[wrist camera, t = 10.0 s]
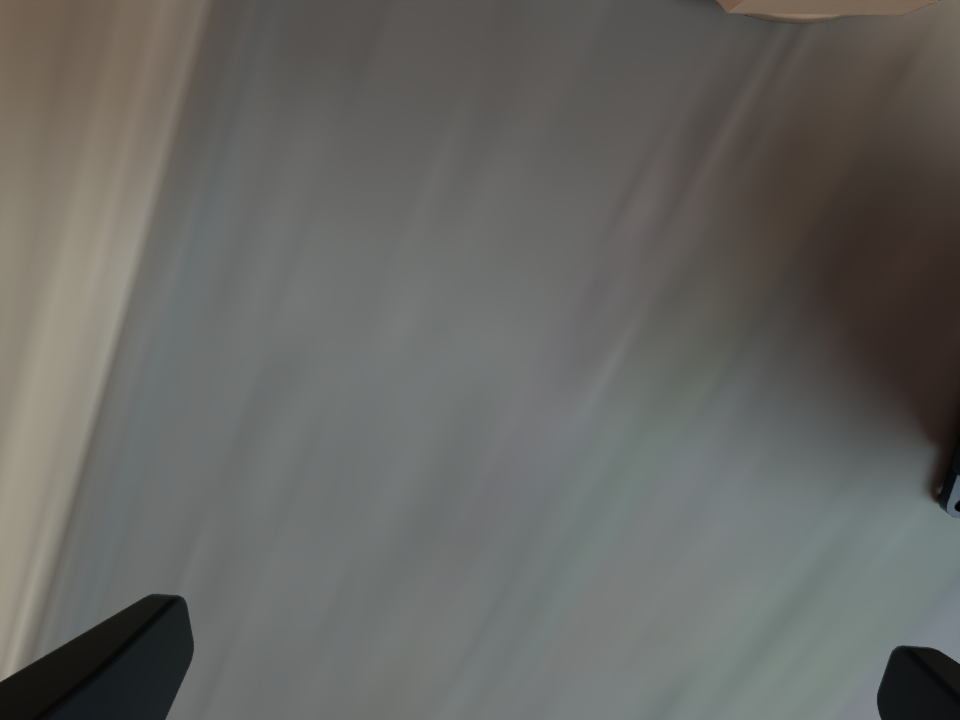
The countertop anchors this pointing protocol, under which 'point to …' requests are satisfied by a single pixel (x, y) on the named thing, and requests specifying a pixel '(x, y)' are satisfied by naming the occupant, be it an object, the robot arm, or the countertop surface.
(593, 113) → the countertop surface
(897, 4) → the bowl
